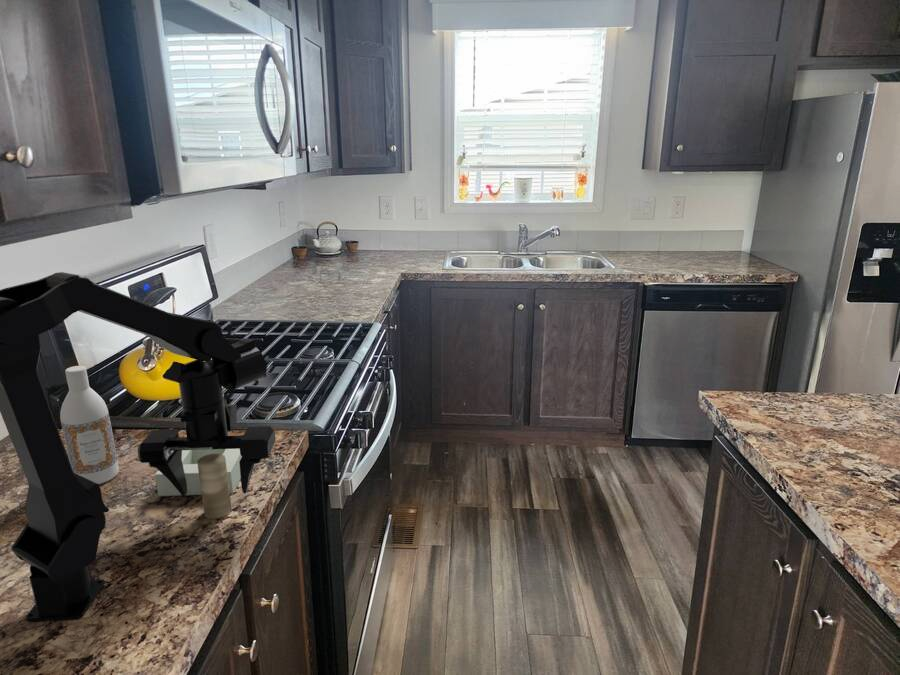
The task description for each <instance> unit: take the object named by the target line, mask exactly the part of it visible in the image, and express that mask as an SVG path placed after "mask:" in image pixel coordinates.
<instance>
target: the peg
mask: <svg viewBox="0 0 900 675" xmlns="http://www.w3.org/2000/svg"><path fill="white" fill-rule="evenodd" d="M197 464H198V471H199V478H200V485H201V493H202V495H201V499H202V506H203V512H204V513H203V515H204V516H205V518H207V519H214V520H215V519H220V518H223V517H226V516H227V515H229V514H230V513H231V511H232V510H233V509H232V502H231V501H232V500H231V493H230V492H229V483H228V475H227V467H226V459H225V456H224V455H222V454H209V455H205V456H203V457H201V458H200V459H199V460H198V461H197Z"/></svg>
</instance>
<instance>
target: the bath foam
mask: <svg viewBox="0 0 900 675" xmlns="http://www.w3.org/2000/svg"><path fill="white" fill-rule="evenodd" d="M64 373H65V377H66V382H67V386H68V392H67V394H66V396H65V398H64V400H63V402H62V405H61V407H60V414H59V418H60V425H61V429H62V433H63V438H64V443H65V447H66V448H65V449H66V453H67V456H68V459H69V462H70V464H71V467H72V470H73V472H74V473H76V474H78V475H80V476H82V477H84V478H86V479H89V480H91V481H93V482H95V483H97V484H99V485H101V484H104V483H107V482H108V481H110V480H112V479H114V478H115V477H116V476H117V475H118V474H119V471H120V467H119V462H118V456H117V455H118V454H117V449H116V445H115V438H114V434H113V429H112V424H111V418H110V413H109V410H108V406H107V404H106V402H105V400H104V399H103V398H102V396H101V395H99V394H98V392H97V391H95V390H94V389H93V388H91V387H90V383H89V377H88V371H87V367H86V366H84V365H74V366H70V367H68V368H66V369H65V371H64Z"/></svg>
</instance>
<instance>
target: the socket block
mask: <svg viewBox="0 0 900 675" xmlns="http://www.w3.org/2000/svg"><path fill="white" fill-rule="evenodd" d="M209 454H222V455H224V456H225V459H226V467H227V475H228V483H229V492H230V494H234V492H235V491H236V489H237V487H238V485H239V483H240V482H241V475H240V464H239V462H240V460H241V458H242V456H241V455H240V449H208V450H182V464H183V468H184V473H185V478H186V482H187V494H186V495H185V496H195V495H196V496H197V495H198V496H199V495H200V496H202V493H201V485H200V478H199V471H198V464H197V461H198V460H199V459H200V458H201V457H203V456H205V455H209ZM154 477H155V483H156V490H157V495H158V497H169V496H182V495H181V493H180V492H179V491H178V490H177V489H176V488H175V486H174V485H173V484H172V483H171V482H170V481H169V480H168V478H167V477H165V476H164V475H163V474H162V473H161V472H160V471H159V470H158V469H157V471H156V473H155V474H154Z"/></svg>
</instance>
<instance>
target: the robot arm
mask: <svg viewBox="0 0 900 675" xmlns="http://www.w3.org/2000/svg"><path fill="white" fill-rule="evenodd" d="M77 312H80V313H82V314H86V315H88V316H92V317H94V318H96V319H100V320H101V321H102V320H103V321H105V322H109V323H111V324H114V325H117V326H119V327H123V328H125V329H128V330H131V331H134V332H137V333H140V334H141V335H145V337H148V338H149V339H151V340H152V341H153V342H154V343H155V344H157V345H158V346H159V347H162V348H164V349H165V350H167V351H168V352H170V353H171V354H174V355H178V356H182V357H186V358H188V359H189V358H190V359H193V360H191V361H188V362H186V363H182V362H178V361H174V360H173V361H172V363H171V365H170V367H169V368H168V369H166V370H165V371H164V373H163V374H162V379H165V380H167V381H170V382H174V383H177V384H178V386H179V392H180V393H179V394H180V401H181V407H182V408H181V409H182V413H181V414H180V416H179V418H180V422H181V423H184V427H185V435H186V436H183V437H182V436H181V437H180V435H179V431H178V430H177V429H176V428H173V429H172V428H171V429H170V428H167V429H160V428H159V429H151V431H150V432H149V433H148V434H147V436H145V438H144V439H143V440H142V442H141V443H139V445H138V448H137V456H138V457H139V460H138V461H139V463H141V464H142V463H143V464H148V466H149V468H156V469H157V471H158V470H159V471H160V472H161V473H162V474H163V475H164V476H165V477H167V478H168V480H169V481H170V482H171V483H172V484H173V485H174V486H175V488H176V489H177V490H178V491H179V492H180V493H181V495H180V496H182V497H185V496H187V495H186V494H187V482H186V478H185V473H184V468H183V464H182V450H208V449H240V455H241V456H242V458H241V460H240V462H239V464H240V475H241V479H240V485H241V490H242V493H243V494H247V492H248V490H249V486H250V482H251V478H252V474H253V469H254V467H255V465H256V464H257V465H258V464H260V463H261V462H262V460H265V459H267V458H269V457H270V454H271V452H272V450H273V448H274V446H275V443H276V432H275V430H274V429H273V428H272V427H271V426H248V427H247V428H246V430H245V431H244V433H243V435H229V433H228V432H232V430H233V429H234V425H237V424H238V420H237V419H238V418H237V417H238V416H237V410H238V408H237V403H236V404H233V403H232V404H228V401H227V399H226V398H224V392H223V389H226V390H227V391H228V390H229V391H234V390H236V389H238V388H240V387H244V386H246V385H248V384H250V383H252V382H255V381H257V380H258V381H259V380H260V379H262V378H264V377H265V375H266V374H267V371H268V364H267V361H266V360H265V357H264V355H263V353H262V351H260V349H258V347H256V340H254V339H249V338H244V339H243V338H242V339H240V340H238V341H237V342H235V343H230V342H229V341H228V340H227V339H226V337H224V334H223V328H222V327H221V325H220V324H219V323H217V322H215V321H212V320H208V319H202V318H198V317H193V316H189V315H183V314H179V313H173V312H167V311H165V310H162V309H160V308H157V307H156V306H155V307H154V306H153V305H150V304H148V303H145V302H143V301H140V300H138V299H136V298H132V297H130V296H128V295H125V294H123V293H120V292H118V291H116V290H113V289H110V288H109V287H106V286H103V285H101V284H98V283H96V282H93V281H92V280H90V279H89V278H88V277H87V276H84V275H79V274H73V273H69V272H63V271H60V272H55V273H52V274H50V275H47V276H45V277H43V278H42V277H41V278H39V279H37V280H33V281H29V282H25V283H21V284H18V285H13V286H9V287H5V288H1V289H0V415H1V418H2V420H3V422H4V425H5V427H6V430H7V433H8V435H9V438H10V440H11V442H12V445H13V448H14V450H15V453H16V455H17V457H18V460H19V464H20V465H21V468H22V470H23V471H22V472H23V473H24V476H25V478H26V481H27V484H28V488H27V494H26V497H25V498H26V499H25V509H26V510H25V511H26V516H27V523H26V525H25V526H24V528H23V529H22V531H21V532H20V534H19V535H18V537H17V538H16V540H15V542H14V543H13V544H12V546H11V549H10V550H11V552H12V553H13V554H14V555H15V556H16V557H17V559H19V560H21V561H23V562H25V563H27V564H28V565H30V566H29V571H30V572H29V573H30V576H29V577H28V578H29V581H30V586H31V591H32V594H33V598H34V602H35V604H34V606H33V607H32V608H31V609H30V611H29V612H28V613H27V614H26V615H25V619H26V622H40V621H58V620H59V621H60V620H62V621H63V620H77V619H81V618H82V617H83V616H84V614H85V613H86V611H87V610H88V609H89V607H90V606H91V605H92V603H93V602H94V600H95V599H96V597H97V596H98V595H99V593H100V591H101V590H102V588H103V587H104V586H105V584H106V583H105V580H104V579H92V573H91V568H90V565H92V564H93V563H95V562H96V559H97V555H98V548H99V542H100V538H101V534H102V531H103V530H104V529H105V528H106V526H107V525H106V524H107V519H106V515H105V513H109V511H110V509H109V508H108V507H107V506H106V505H105V503H104V501H103V495H102V489H101V487H100V484H97V483H95V482H93V481H91V480H89V479H86V478H84V477H82V476H80V475H78V474H76V473H74V472H73V470H72V467H71V464H70V462H69V458H68V453H67V450H66V448H65V446H64V442H63V439H62V437H61V435H60V432H59V428H58V426H57V423H56V420H55V417H54V414H53V412H52V409H51V407H50V406H51V405H50V403H49V401H48V398H47V395H46V391H45V389H44V387H43V385H42V381H41V378H40V375H39V373H38V372H39V371H38V366H39V361H40V356H41V355H40V354H41V350H42V344H41V336H40V334H43V333H45V332H48V331H51V330H52V329H54V328H56V327H57V326H59V325H60V324H61V323H63V322H64V321H65V320H67V319H68V318H69V317H71V315H73V314H75V313H77Z"/></svg>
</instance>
